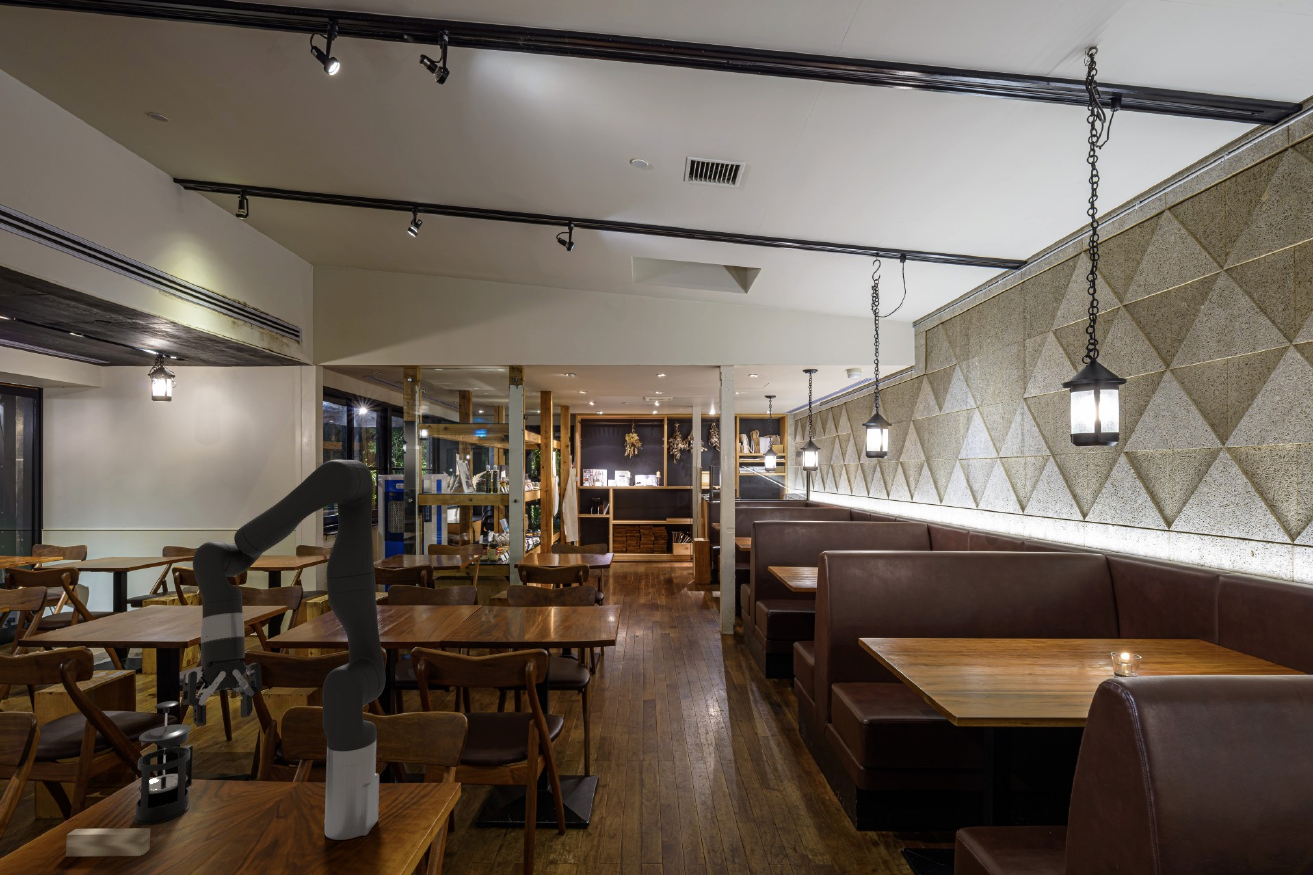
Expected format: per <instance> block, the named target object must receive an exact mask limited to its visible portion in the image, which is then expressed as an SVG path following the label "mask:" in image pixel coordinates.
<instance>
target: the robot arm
mask: <svg viewBox="0 0 1313 875" xmlns="http://www.w3.org/2000/svg"><path fill="white" fill-rule="evenodd" d="M373 498H374V480H373V476H372V472H371V470H370V468H369V467H368V466H367V465H366V464H365V463H364V462H362V461H360V460H353V459H332V460H328V461H326V462H323V463H322V464H321V465H319V466H318V467H317V468H316V469H315V470H314V471H312V472H311V473H310V474H309V475H308V476H307V477H306V478H305V479H304V480H303V481H302V482H301V483H300V484H298V486H296V487H295V488H294V489H293V490H291V492H290V493H288V494H286V496H285V497H283V498H282V499H281V500H279V501H278V502H276V504H274V505H273V506H271V507H269V508H268V509H267V510H265V511H263V512H262V513H261V514H259V515H257V516H256V517H255V518H252V519H251V520H249V521H248V522H247V523H245V524H243V525H242V526H241V527H240V528H238V529H237V530H236V531H235V534H234V537H233V540H234V542H233V543H229V542H220V541H208V542H205V543H203V544H201V545H200V546H199V547H198V548H197V549H196V550H195V552H194V555H193V558H192V569H193V570H192V572H193V574H194V578H195V581H196V583H197V586H198V591H199V593H200V595H201V600H202V620H201V621H202V622H201V628H200V664H201V670H200V671H195V670H194V671H189V672H186V673H184V675H183V681H182V694H181V704H182V705H183V706H191V707H192V710H193V715H192V716H193V719H192V721H193V724H194V725H195V726H196V728H199V727H205V726H207V705H206V702H207V701H208V700H209V698H210V696H211V695H213V694H214V692H219V691H221V690H230V689H232V690H234V691H235V692H237V693H238V695H239V696H240V697H241V698H240V699H239V700H240V702H239V703H240V718H241V719H244V718H249V717H251V715H252V713H253V710H254V709H253V697H254V695H256V694H258V693H261V692H262V690H263V679H262V678H263V677H262V669H261V668H262V666H261V662H254V663H250V664H248V665H246V663H245V657H246V651H245V650H246V649H245V648H246V647H245V641H246V640H245V638H246V637H245V622H244V615H243V614H244V613H243V612H244V611H243V593H242V589H241V588H240V587H238V586H235V585H232V584H231V583H230V582H229V580H228V578H227V577H235V576H238V575H241V574H243V573H245V572H246V571H248V570H249V569H250V568H251V567H252V566H253V564H255V562H257V561H258V559H259V558H260V557H261V556H262V555H263V554H264V553H265V552H267V551H268V550H269V549H272V547H275V546H276V545H278V544H279V543H280V542H282V541H283V540H285V539H286V538H287V537H288V536H290V535H292V533H293V532H294V531H295V530H296V528H297V527H298V526H299V525H300V524H301V523H302V522H303V521H304V520H305V519H306V518H307V517H309V516H310V515H312V514H313V513H316V512H317V511H319V510H321V509H323V508H327V507H328V506H331V505H334V504H335V505H337V517H338V518H337V520H338V522H337V523H338V524H337V525H338V527H337V531H336V536H335V539H334V542H333V545H332V549H331V550H330V554H329V557H328V561H327V565H326V576H325V577H326V590H327V591H326V592H327V599H328V600H327V601H328V603H329V606H330V608H331V610H332V612H333V614H334V615H335V617H336V618H337V620H338V621H339V623H340V625H341V626H342V628H343V629H344V632H345V635H346V638H347V642H348V660H349V661H348V662H347V663H346V664H343V665H341V666H338V667H336V668H333V670H331V671H330V672H329V673H328V674H327V676H326V677H325V680H324V682H323V686H322V694H321V695H322V696H321V697H322V727H323V728H322V729H323V732H324V734H325V738H326V767H325V768H326V769H325V770H326V774H325V801H324V802H325V803H324V804H325V805H324V808H325V809H324V835H325V836H326V837H327V838H328V839H331V840H337V841H340V840H341V841H344V840H350V839H354V838H357V837H361V836H362V837H363V836H368V834H369V833H370V832H371V831H372V828H374V826H375V825H376V824H377V822H378V820H379V796H380V795H379V794H380V774H379V773H376V768H377V766H376V764H377V732H378V731H377V730H378V729H377V725H376V724H375V723H374V722H373V721H369V720H364V706H366V705H369V703H372V702H373V701H375V700H377V699H378V698H379V697H380V696H381V695H382V693H383V691H384V689H385V686H386V669H385V668H386V667H385V662H384V656H383V651H382V645H381V640H380V638H381V637H380V632H379V621H378V609H377V608H378V607H377V587H376V573H375V571H376V570H375V562H374V543H373V530H372V529H373V527H372V524H373V523H372V522H373V521H372V520H373V516H372V514H373ZM245 673H246V675H248V681H247V680H246V679H245V678H244V676H245ZM199 680H201V682H203V684H202V685H201V687H200V689H199V690H198V692H197V685H198V684H197V683H199Z"/></svg>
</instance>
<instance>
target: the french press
mask: <svg viewBox="0 0 1313 875" xmlns="http://www.w3.org/2000/svg"><path fill="white" fill-rule="evenodd" d="M176 706H179V701H177V700H176V701H175V700H170V701H169V700H168V701H163V702H161V703H160V702H159V703H158V704H156V705H154V707H153V708H154V709H157V710H163V714H164V726H160V727H159V726H158V727H156V728H153V729H152V728H151V729H149V730H146V731H145V732H142V734H140V735H139V737H138V740H139V741H140V742H141V743H140V746H141V747H143V746H144V745H146V744H147V743H151V744H154V745H156V746H158V747H161V748H162V749H158V750H155V751H151V752H148V753H146V754H145V755H142V756H140V757H139V759H138V760H137V769H138V771H141V779H140V780H141V783H140V785H139V786H138V791H139V793H140V798H139V799H137V801H136V803H135V804H136V805H135V815H134V817H133V820H134V823H135V824H137V825H139V826H140V825H141V826H151V825H152V826H153V825H157V824H162V823H167V822H170V821H172V820H174V819H177V818H180V817H181V816H182V815H184V814H186V812H187V811H188V810H189V809H190V803H189V796H190V794H189V793H190V791H189V789H188V788H190V787H191V786H192V785H193V761H194V745H192V744H185V743H186V742H187V741H188V740H189V733H190V732H191V730H192V727H191V726H190V725H189V724H188V725H187V724H170V725H168V714H169V713H170V709H171V708H174V707H176ZM182 744H185V745H183V746H180V745H182ZM174 754H177V759H174V760H171V761H168V762H166V756H167V755H174ZM162 756H163V760H162V762H163V763H157V764H156V763H155V764H151V762H152V761H151V760H152V759H154V758H157V757H162ZM175 767H177V769H176V770H177V772H176V773H168V774H166V770H169V769H172V768H175ZM159 771H162V775H159V776H156V777H153V778H151V772H159Z"/></svg>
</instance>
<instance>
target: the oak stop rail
mask: <svg viewBox="0 0 1313 875" xmlns="http://www.w3.org/2000/svg"><path fill="white" fill-rule="evenodd" d="M150 844H151V828H149V827H148V828H147V827H140V828H139V827H138V828H136V827H134V828H131V827H130V828H128V827H127V828H75V829H74V830H72V831H70V832H69V833H67V834H66V845H65V846H66V847H65V850H66V851H65V857H120V856H121V857H132V856H133V857H137V856H138V857H141V855H142V856H143V855H145V854H146V853H147V852H149V851H150V847H151V845H150Z"/></svg>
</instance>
